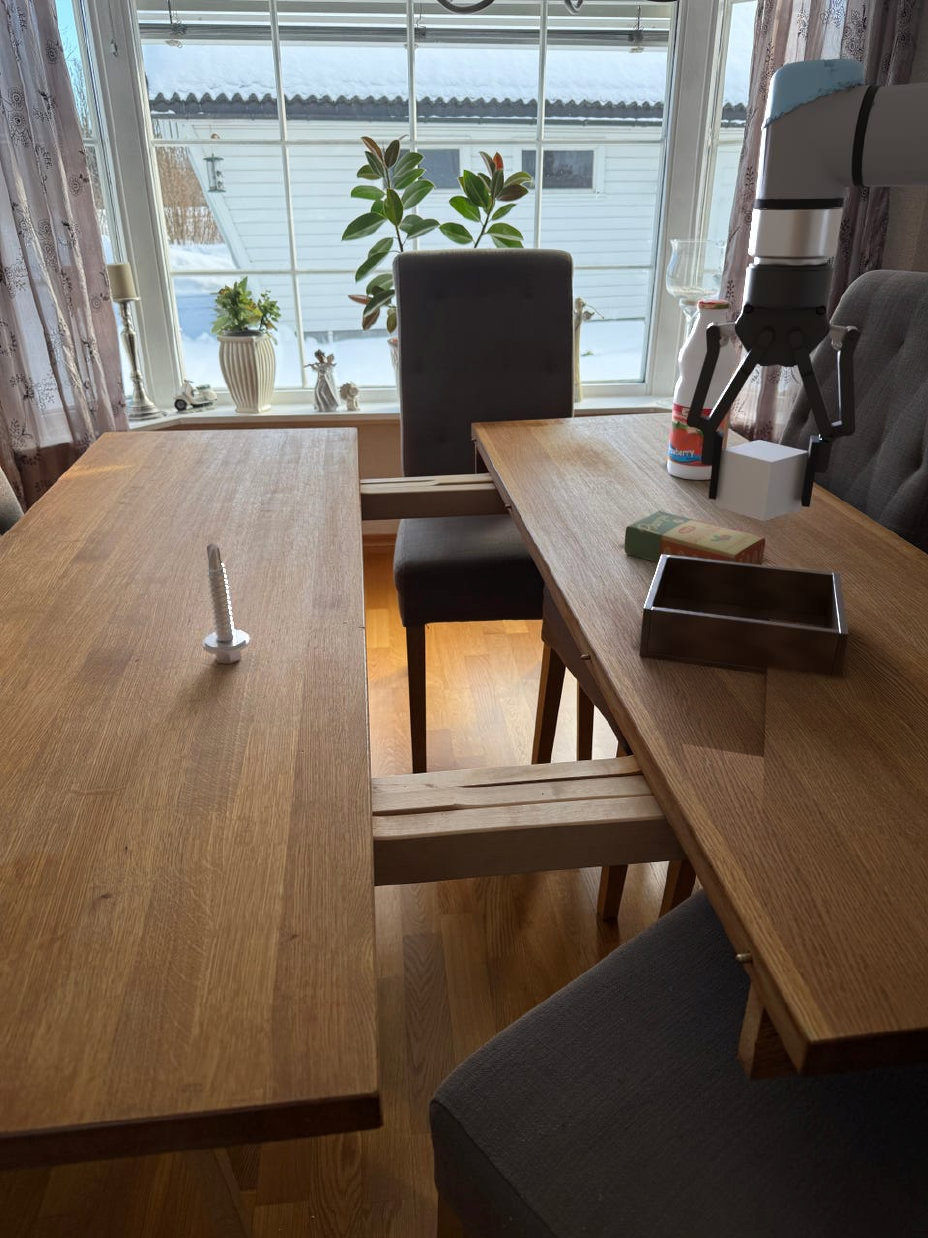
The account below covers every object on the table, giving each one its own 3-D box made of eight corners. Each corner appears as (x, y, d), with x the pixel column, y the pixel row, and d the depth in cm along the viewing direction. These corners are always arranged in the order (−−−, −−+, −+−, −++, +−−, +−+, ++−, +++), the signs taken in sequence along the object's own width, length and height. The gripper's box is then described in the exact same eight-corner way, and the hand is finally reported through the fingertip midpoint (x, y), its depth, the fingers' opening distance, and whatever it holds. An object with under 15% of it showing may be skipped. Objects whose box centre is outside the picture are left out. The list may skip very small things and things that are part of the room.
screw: (242, 670, 91) (197, 668, 91) (258, 648, 95) (215, 646, 96) (226, 553, 85) (178, 550, 86) (244, 535, 89) (198, 533, 90)
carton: (730, 586, 109) (735, 554, 107) (622, 553, 119) (624, 523, 117) (762, 566, 114) (767, 535, 112) (656, 536, 124) (658, 507, 122)
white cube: (763, 521, 87) (771, 462, 85) (714, 506, 92) (721, 449, 89) (800, 509, 90) (809, 451, 88) (751, 494, 95) (759, 439, 92)
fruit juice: (733, 473, 151) (756, 300, 139) (702, 484, 146) (723, 305, 133) (687, 462, 158) (705, 295, 145) (655, 472, 152) (671, 300, 140)
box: (831, 618, 101) (840, 573, 98) (838, 684, 87) (848, 634, 85) (657, 597, 106) (661, 553, 104) (639, 656, 93) (643, 608, 90)
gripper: (912, 258, 81) (866, 496, 91) (676, 257, 87) (658, 480, 97) (923, 264, 74) (873, 519, 84) (668, 262, 80) (649, 501, 90)
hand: (758, 498), depth 91 cm, fingers closed on white cube, 8 cm apart
